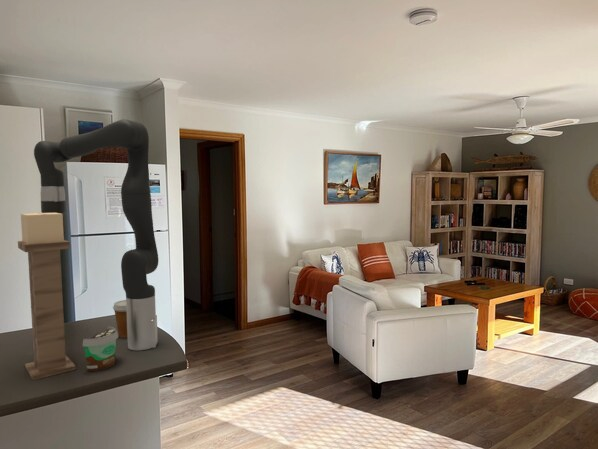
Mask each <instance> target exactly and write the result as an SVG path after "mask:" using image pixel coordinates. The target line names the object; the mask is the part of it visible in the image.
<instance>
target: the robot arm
mask: <svg viewBox="0 0 598 449" xmlns="http://www.w3.org/2000/svg"><path fill="white" fill-rule="evenodd" d="M149 138H150V137H149V132H148V130H147V128H146V125H144V124H143V123H142V122H138V121H135V120H129V119H118V120H117V121H114V122H112V123H109V124H107V125H105V126H103V127H101V128H98V129H95V130H92V131H89V132H86V133H84V132H83V133H81V134H76V135H72V136H68V137H64V138H63V139H61V140H60V141H58V142H57V141H48V140H40V141H39V142H37V143H36V144H35V146H34V148H33V157H34V159H35V163H36V165H37V168H38V172H39V175H40V209H41V210H40V211H41V212H40V213H60V214H65V213H66V212H67V211H66V210H67V209H66V206H67V204H66V191H65V183H64V182H65V181H64V180H65V179H64V178H65V177H64V172H63V171H62V170H61V169H58V168H56V166H55V164H56V163H63V162H68V161H69V160H72V159H73V158H74V159H75V158H80V157H83V156H87V155H90V154H93V153H95V152H96V151H98V150H101V149H105V148H122V149H125V150H126V151H127V162H128V163H127V169H126V173H125V175H124V178H123V180H122V184H121V188H120V189H121V190H120V194H121V206H122V211H123V214H124V216H125V218H126V220H127V222H128V223H129V225H130V227H131V228H132V231H133V233H134V238H135V239H134V242H135V249H129V250H127V251H126V252H124V253H123V255H122V258H121V260H120V261H121V262H120V264H121V265H120V268H121V269H120V270H121V278H122V279H121V280H122V281H121V282H122V288H123V291H124V293H125V300H126V310H127V336H128V337H127V348H128V349H129V350H130V351H145V350H149V349H155V348H157V344H158V342H159V340H158V315H157V314H156V311H157V310H156V307H157V306H156V287H155V286H153V284H149V283H148V278H147V275H149V274H151V273H153V272H155V271H156V270H157V269H158V266H159V253H158V252H159V251H158V247H157V241H156V239H155V238H156V237H155V232H154V222H153V221H154V219H153V210H152V195H151V193H152V192H151V186H150V185H151V183H150V170H149V148H150V146H149V144H150V143H149V142H150V141H149V140H150V139H149ZM63 233H64V234H65V219H64V217H63Z"/></svg>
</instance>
